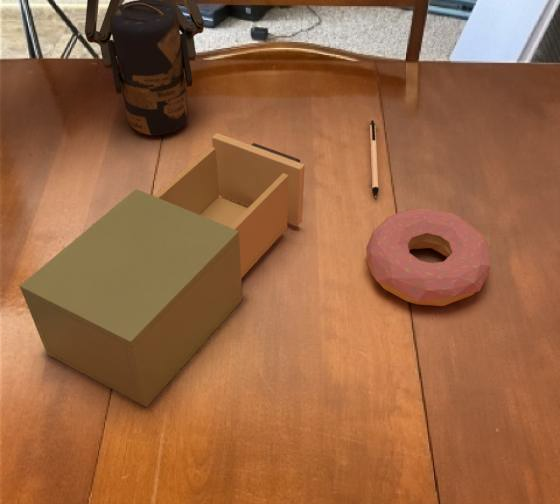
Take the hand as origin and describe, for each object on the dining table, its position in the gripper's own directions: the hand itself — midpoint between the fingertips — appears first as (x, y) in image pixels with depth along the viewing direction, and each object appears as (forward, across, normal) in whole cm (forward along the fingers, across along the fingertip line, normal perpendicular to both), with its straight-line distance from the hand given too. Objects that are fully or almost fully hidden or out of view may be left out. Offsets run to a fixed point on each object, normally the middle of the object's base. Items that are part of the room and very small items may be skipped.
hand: (154, 86), depth 99 cm
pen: (+15, -30, +4) cm, 34 cm away
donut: (+32, -30, +20) cm, 48 cm away
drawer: (+23, -7, +14) cm, 28 cm away
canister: (+3, 0, -8) cm, 9 cm away
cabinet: (+33, +6, +22) cm, 41 cm away
